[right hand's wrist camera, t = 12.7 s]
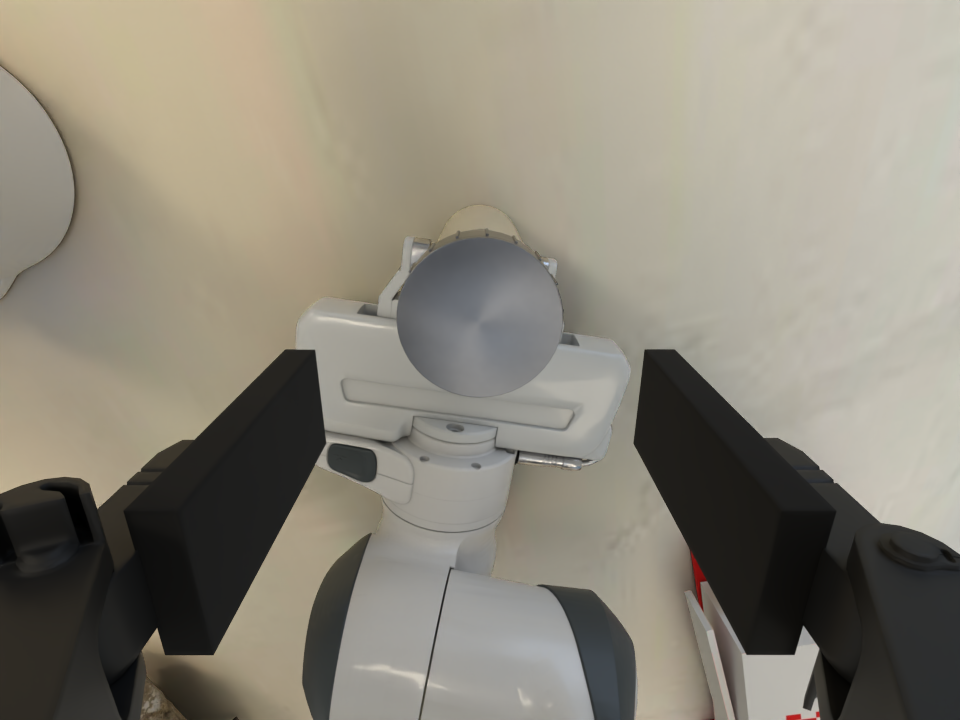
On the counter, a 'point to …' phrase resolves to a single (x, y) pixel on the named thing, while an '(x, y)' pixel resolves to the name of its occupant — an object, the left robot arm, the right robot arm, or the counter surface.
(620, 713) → the left robot arm
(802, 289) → the counter surface
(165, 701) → the fossil
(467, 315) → the lid
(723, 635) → the toy
